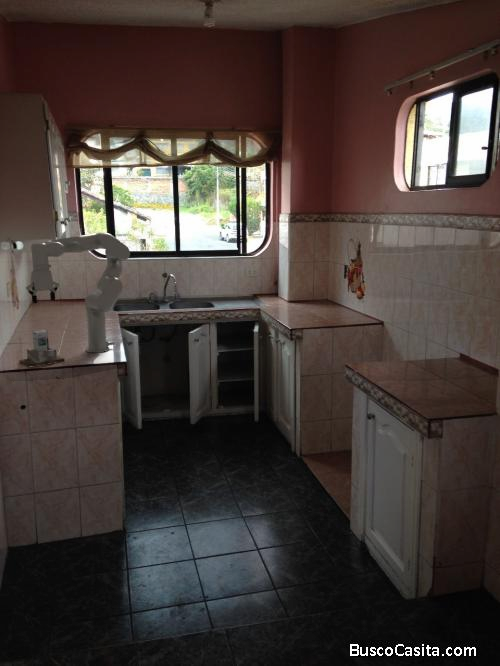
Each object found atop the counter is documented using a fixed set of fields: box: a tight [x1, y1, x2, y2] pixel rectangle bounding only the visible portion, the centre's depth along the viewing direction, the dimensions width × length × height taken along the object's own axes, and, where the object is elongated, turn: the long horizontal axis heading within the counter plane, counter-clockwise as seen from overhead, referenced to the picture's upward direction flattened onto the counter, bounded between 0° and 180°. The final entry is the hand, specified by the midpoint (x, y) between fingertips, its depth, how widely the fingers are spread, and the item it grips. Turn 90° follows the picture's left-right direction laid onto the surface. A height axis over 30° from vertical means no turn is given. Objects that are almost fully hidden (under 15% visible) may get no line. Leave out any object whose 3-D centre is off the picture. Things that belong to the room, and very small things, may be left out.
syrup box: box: [32, 329, 50, 352], centre depth 298 cm, size 6×6×14 cm
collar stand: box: [18, 346, 65, 367], centre depth 299 cm, size 18×12×6 cm, turn 135°
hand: (44, 301), depth 300 cm, fingers open, 9 cm apart
